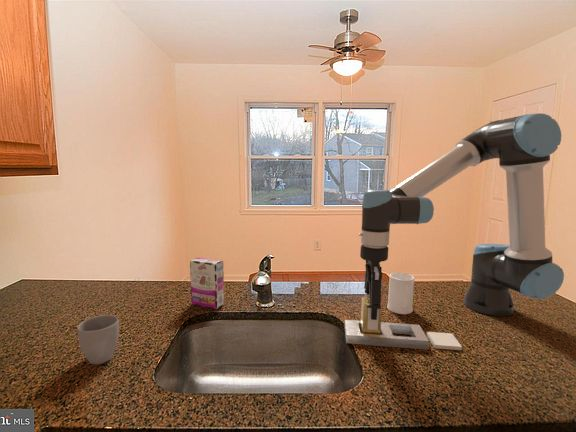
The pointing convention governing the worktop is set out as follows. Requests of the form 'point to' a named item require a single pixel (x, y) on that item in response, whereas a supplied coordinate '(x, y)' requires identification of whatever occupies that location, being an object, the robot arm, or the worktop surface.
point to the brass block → (365, 318)
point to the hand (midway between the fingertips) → (370, 321)
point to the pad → (444, 341)
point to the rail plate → (387, 335)
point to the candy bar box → (207, 283)
